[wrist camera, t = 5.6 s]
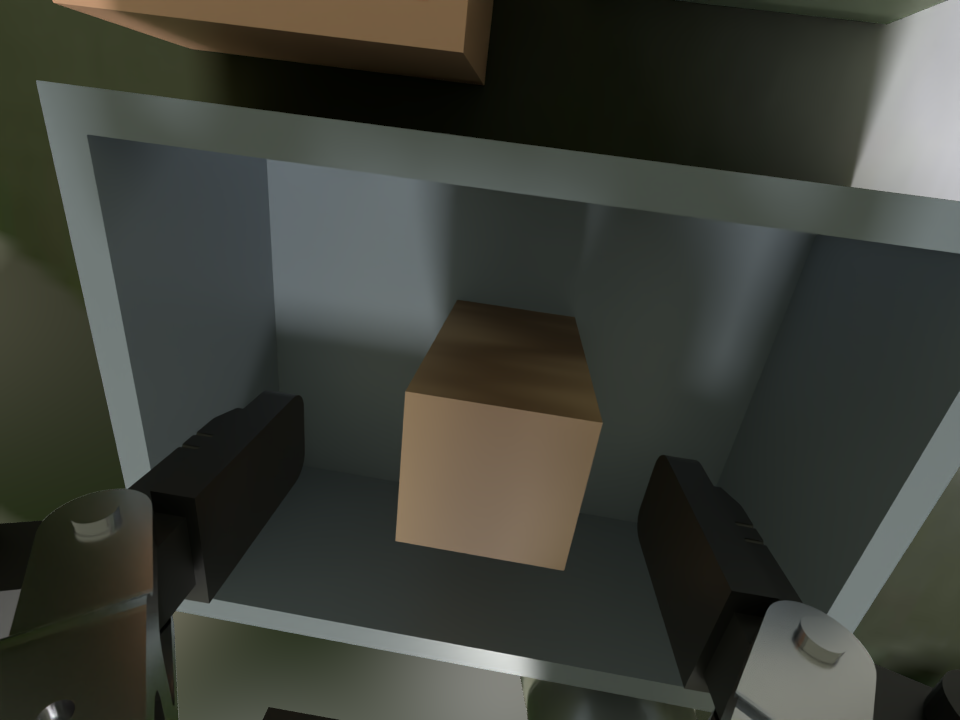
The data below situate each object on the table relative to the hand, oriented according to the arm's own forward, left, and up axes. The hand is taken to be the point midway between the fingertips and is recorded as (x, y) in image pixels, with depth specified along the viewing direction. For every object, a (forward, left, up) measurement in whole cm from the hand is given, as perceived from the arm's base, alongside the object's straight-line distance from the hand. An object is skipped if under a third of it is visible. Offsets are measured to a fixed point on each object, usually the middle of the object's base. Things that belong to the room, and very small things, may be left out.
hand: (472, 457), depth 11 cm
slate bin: (0, 0, -7) cm, 7 cm away
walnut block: (0, 0, -7) cm, 6 cm away
